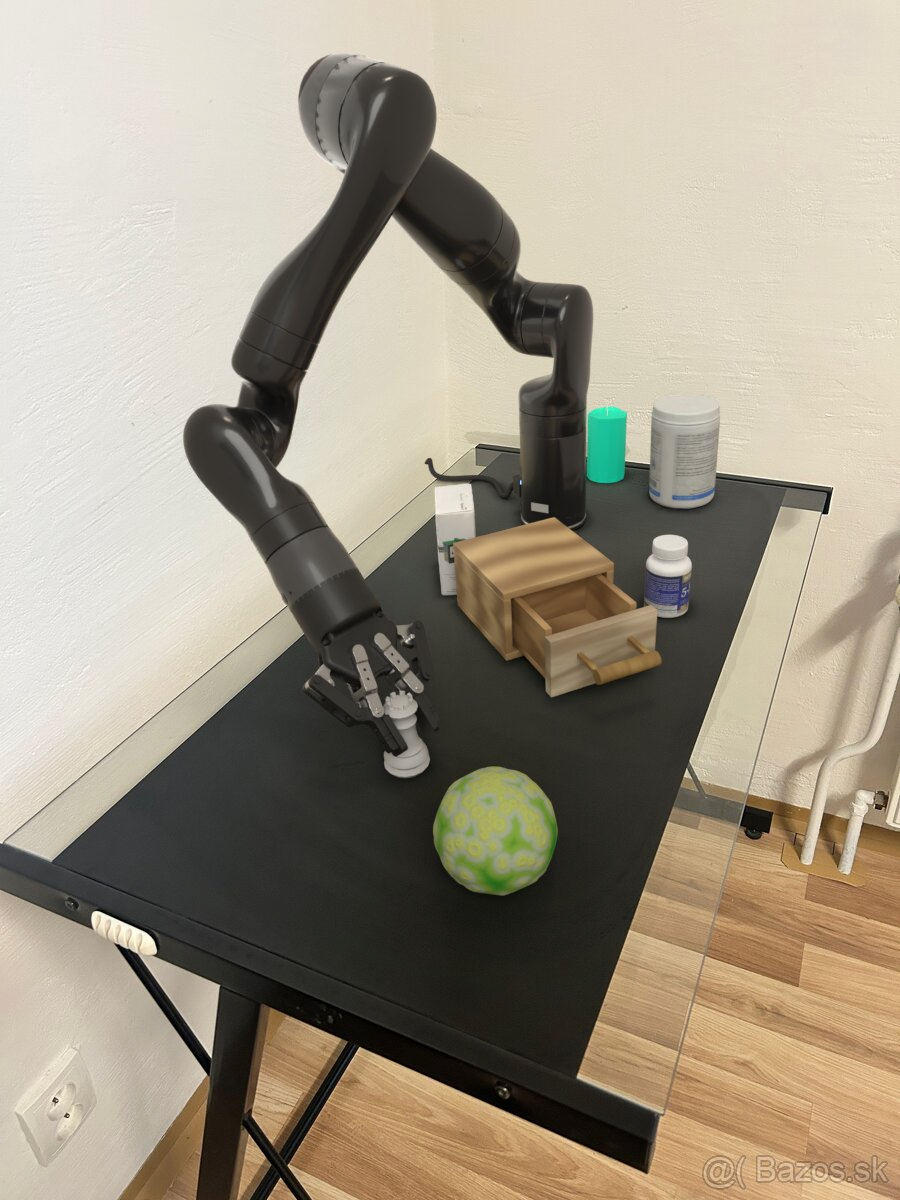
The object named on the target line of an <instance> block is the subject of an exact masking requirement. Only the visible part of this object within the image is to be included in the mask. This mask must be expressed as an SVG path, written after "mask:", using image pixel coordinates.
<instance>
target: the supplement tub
mask: <svg viewBox="0 0 900 1200" xmlns="http://www.w3.org/2000/svg"><path fill="white" fill-rule="evenodd" d="M720 407H721V404H720V402H719V400H718V399H717V398H715V397H712V396H710V395H706V394H700V393H674V394H668V395H664V396H661V397H659V398H657V399H655V400H654V402H653V403H652V410H651V422H650V423H651V424H650V454H649V455H650V456H649V484H648V485H649V491H648V493H649V494H648V495H649V497H650V498H651V500H652V501H653V502H654V503H656V504H658V505H660V506H662V507H666V508H669V509H683V510H687V509H689V510H690V509H695V508H700V507H703V506H704V505H707V504H708V503H710V502H711V501H712V500H713V499H714V496H715V493H716V478H717V467H718V465H717V464H718V454H719V453H718V452H719V439H720V426H721V425H720V424H721V412H720V409H721V408H720Z"/></svg>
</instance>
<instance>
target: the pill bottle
mask: <svg viewBox="0 0 900 1200" xmlns="http://www.w3.org/2000/svg"><path fill="white" fill-rule="evenodd" d="M651 550H652V552H651V555H649V556H648V558H647V559H646V562H645V577H644V579H645V581H644V595H643V598H644V599H643V607H645V606H649V605H652V606H653V607H654V608H656V609H657V618H663V619H672V618H678V617H681V616H683V615H684V614H685V613H687V612H688V610H689V605H690V592H691V581H692V580H691V579H692V571H693V563H692V561H691V559H690V557H689V556H688V552H689V542H688V540H687V539H686V538H685V537H683V536H680V535H677V534H663V535H658V536H657V537H655V538H653V540H652V546H651Z"/></svg>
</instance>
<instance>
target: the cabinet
mask: <svg viewBox="0 0 900 1200" xmlns="http://www.w3.org/2000/svg"><path fill="white" fill-rule="evenodd" d="M453 548H454V561H455V575H456V588H457V595H456V599H457V600H456V601H457V606H458V607H459V609H460V610H461V611H462V612H463V613H464V615H466V617H467V618H468V619H469V620H470V621H471V622H472V624H474V626H475V627H476V628H477V629H478V631H480V633H481V634H482V635H483V636H484V637H485V639H487V641H488V642H489V643H490V644H491V646H493V647H494V649H495V650H496V651H497V652H498V653H499V654H500V656H502V658H503V659H504V660H505V661H506V662H508V661H511V660H513V659H517V658H520V657H521V658H522V657H525V656H524V655H523V654H522V653H521V652H520V651H519V649H518V648H517V647H516V646H515V645H514V644H513V642H512V615H511V599H512V598H516V597H519V596H523V595H526V594H530V593H533V592H537V591H541V590H544V589H548V588H551V587H555V586H558V585H562V584H565V583H569V582H572V581H576V580H579V579H583V578H587V577H590V576H594V575H597V574H602V575H603V576H604V577H605V578H607V579H608V580H609V581H610V582H612V583H613V584H614V576H615V575H614V574H615V563H614V562H613V561H612V560H610V559H609V558H608V557H607V556H605V555H604V554H603V553H602V552H601V551H599V550H597V548H595V547H594V546H593V545H591V544H590V543H589V542H587V541H586V540H585V539H583V538H582V537H581V536H579V535H578V534H577V533H576V532H575V531H574V530H570V529H569V528H568V527H566V526H565V525H564V524H563V523H561V522H560V521H559V520H557V519H556V518H555V517H553V518H549V519H545V520H541V521H538V522H534V523H530V524H526V525H523V524H522V525H517V526H515V527H510V528H506V529H503V530H499V531H494V532H491V533H487V534H482V535H479V536H476V537H475V538H471V539H467V540H463V541H459V542H455V543H453Z"/></svg>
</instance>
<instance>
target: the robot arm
mask: <svg viewBox="0 0 900 1200" xmlns="http://www.w3.org/2000/svg"><path fill="white" fill-rule="evenodd" d="M297 109H298V111H297V112H298V117H299V122H300V125H301V129H302V131H303V134H304V136H305V138H306V140H307V142H308V144H309V145H310V147H311V149H312V150H313V151H314V153H315V154H316V155H317V156H318V157H319V158H320V159H322V160H323V161H324V162H325V163H327V164H328V165H329V166H331V167H333V168H334V169H335V170H336V171H338V172H339V173H340V174H341V175H343V177H342V179H341V183H340V185H339V186H338V189H337V191H336V193H335V196H334V198H333V199H332V201H331V203H330V204H329V206H328V208H327V209H326V210H325V212H324V214H323V215H322V216H321V217H320V219H319V220H318V221H317V222H316V224H315V225H314V226H313V227H312V229H311V230H309V232H308V233H307V234H306V235H305V236H304V237H303V238H302V239H301V240H300V241H299V242H298V243H297V244H296V245H295V246H293V248H292V249H290V250H289V252H288V253H287V254H286V255H285V256H283V258H282V259H280V261H279V262H278V263H277V264H276V265H275V266H274V267H273V268H271V270H270V272H269V273H268V274H267V276H266V277H265V278H264V279H263V281H262V283H261V284H260V286H259V288H258V289H257V291H256V294H255V295H254V297H253V298H252V301H251V304H250V306H249V310H248V311H247V314H246V316H245V318H244V321H243V323H242V326H241V328H240V330H239V333H238V335H237V336H238V337H237V338H236V340H235V343H234V346H233V348H232V352H231V354H230V367H231V369H232V371H233V372H234V374H235V375H236V376H237V377H238V378H239V379H241V384H240V388H239V393H238V397H237V400H236V401H237V402H236V405H232V404H226V403H220V402H219V403H218V402H217V403H207V404H205V405H202V406H200V407H198V408H197V409H195V410H194V411H192V412H191V414H190V415H189V416H188V418H187V419H186V422H185V424H184V427H183V432H182V444H183V449H184V453H185V456H186V459H187V461H188V463H189V466H190V468H191V469H192V471H193V472H194V474H195V476H196V477H197V479H198V480H199V481H200V482H201V483H202V484H203V486H204V487H205V488H206V489H207V490H208V491H209V493H210V494H211V495H212V496H213V497H214V498H215V499H216V501H217V502H218V503H219V504H220V505H221V506H222V507H223V508H224V509H225V510H226V512H228V513H229V514H230V515H231V516H232V517H233V518H234V519H235V520H236V521H237V522H238V523H239V524H240V525H241V527H243V529H244V530H245V532H246V534H247V536H248V538H249V539H250V541H251V543H252V545H253V546H254V548H255V550H256V552H257V554H259V557H260V558H261V560H262V561H263V563H264V565H265V567H266V569H267V570H268V572H269V574H270V577H271V580H272V582H273V584H274V586H275V587H276V590H277V591H278V593H279V595H280V596H281V600H282V602H283V603H284V604H285V605H286V606H287V608H288V609H289V611H290V613H291V615H292V616H293V618H294V619H295V622H296V623H297V624H298V626H299V628H300V629H301V631H302V633H303V635H304V636H305V637H306V640H307V641H308V642H309V644H310V646H311V647H312V648H313V649H314V651H315V652H316V654H317V661H318V662H317V663H318V666H319V668H318V669H317V671H316V672H315V673H314V674H313V675H312V676H311V677H310V678H309V679H308V680H307V681H306V682H305V683H304V684H303V685H302V691H303V693H304V694H305V695H306V696H307V697H309V698H310V699H312V701H314V702H315V703H316V704H318V705H319V706H320V707H321V708H323V709H324V710H325V711H327V713H329V714H330V715H332V716H333V717H334V718H335V719H337V720H338V721H339V722H340V723H342V724H343V725H344V726H345V727H348V728H353V727H354V726H360V725H361V726H362V725H366V726H368V727H369V729H370V730H371V731H372V733H373V735H374V736H375V738H376V740H377V741H378V743H379V745H380V746H381V748H382V750H383V751H384V752H385V751H386V752H387V753H388V754H389V753H392V754H393V755H394V756H395V757H397V756H398V755H400V754H402V753H403V752H405V751H407V750H408V746H407V744H406V742H405V741H404V739H403V737H402V736H401V734H400V732H399V731H398V729H397V728H396V726H395V724H394V723H393V721H392V719H391V718H390V716H389V714H387V715H386V714H385V713H384V709H383V706H384V705H383V704H382V701H381V698H380V695H379V693H378V690H379V687H378V684H377V681H376V679H377V678H382V679H383V680H384V681H385V683H386V684H387V685H390V686H392V687H393V688H394V689H395V690H396V691H397V692H398V693H399V694H400V691H405V695H407V694H408V693H410V694H411V695H412V698H413V699H414V700H415V701H416V702H417V705H418V707H417V710H416V712H415V713H414V714H415V715H416V718H417V720H416V724H417V725H418V727H419V728H420V731H421V732H422V733H423V734H424V736H425V737H429V736H431V735H433V734H435V733H436V732H438V731H439V730H440V729H441V728H440V725H439V723H440V721H441V720H440V717H439V714H438V712H437V711H436V709H435V708H434V706H433V704H432V702H431V701H430V699H429V698H428V696H427V695H426V692H425V688H426V686H427V684H428V683H429V682H430V681H431V680H432V679H433V678H434V677H435V670H434V666H433V662H432V657H431V651H430V647H429V643H428V639H427V634H426V629H425V626H424V623H423V622H422V621H421V620H417V619H416V620H414V621H413V622H412V623H410V624H397V625H396V623H395V622H394V621H393V620H391V619H390V618H389V617H387V615H385V614H384V612H383V610H382V607H381V604H380V602H379V600H378V599H377V597H376V595H375V594H374V592H373V590H372V588H371V587H370V586H369V584H368V582H367V581H366V579H365V578H364V575H362V573H361V571H360V570H359V568H358V566H357V565H356V563H355V562H354V560H353V558H352V557H351V555H350V553H349V552H348V550H347V548H346V547H345V546H344V544H343V542H341V541H340V539H339V538H338V537H337V536H336V534H335V533H334V532H333V530H332V529H331V528H330V525H329V524H328V523H327V521H326V519H325V518H324V516H323V514H322V513H321V511H320V509H319V508H318V506H317V505H316V503H315V501H314V500H313V498H312V497H311V495H310V494H309V493H308V491H307V490H306V489H305V488H304V487H303V486H302V485H300V484H299V483H297V482H295V481H293V480H291V479H288V478H287V477H286V476H284V475H283V474H282V473H281V472H280V471H279V470H278V467H279V466H280V464H281V463H282V461H283V459H284V457H285V456H286V453H287V451H288V449H289V445H290V443H291V439H292V435H293V431H294V425H295V421H296V415H297V411H298V407H299V399H300V391H301V387H302V383H303V381H304V379H305V378H306V375H307V374H308V370H309V369H310V367H311V364H312V362H313V359H314V358H315V355H316V353H317V351H318V348H319V345H320V343H321V341H322V340H323V336H324V334H325V331H326V330H327V326H328V325H329V323H330V321H331V319H332V317H333V315H334V313H335V310H336V308H337V307H338V304H339V302H340V301H341V298H342V297H343V295H344V293H345V291H346V290H347V288H348V286H349V285H350V283H351V282H352V279H353V278H354V276H355V275H356V273H357V271H359V268H360V267H361V266H362V264H363V262H364V260H365V259H366V257H367V256H368V254H369V253H370V251H371V250H372V248H373V247H374V245H375V243H376V242H377V240H378V239H379V237H380V236H381V234H382V232H383V231H384V229H385V228H386V226H387V225H388V223H389V221H390V219H391V218H392V219H393V221H394V222H395V223H396V224H397V225H398V226H399V227H400V228H401V230H402V231H404V232H405V234H407V235H408V237H409V238H410V239H411V240H412V241H413V242H414V243H415V244H416V245H417V246H418V247H419V248H420V249H421V250H422V251H423V252H424V253H425V254H426V256H427V257H428V258H429V259H430V260H431V261H432V263H434V265H436V267H437V268H439V270H440V271H442V272H443V273H444V274H445V275H446V276H447V278H449V279H450V280H451V281H452V282H454V283H455V284H456V285H457V286H458V287H459V288H460V289H461V290H462V291H463V292H464V293H465V294H466V295H467V296H468V298H470V299H471V300H472V301H473V303H474V304H476V305H477V307H478V308H479V309H481V311H482V312H483V313H484V314H485V315H486V317H487V318H488V319H489V321H490V322H491V324H492V325H493V326H494V328H495V330H496V331H497V332H498V333H499V335H500V336H501V338H502V339H503V341H505V343H506V344H507V345H508V346H509V347H510V348H511V349H512V350H513V351H515V352H517V353H520V354H522V355H526V356H532V357H540V358H549V359H550V358H551V359H553V363H552V364H553V365H552V372H551V373H548V374H546V375H542V376H538V377H535V378H532V379H530V380H528V381H525V382H524V383H523V384H522V385H521V386H520V387H519V390H518V425H519V427H518V428H519V456H518V458H519V459H518V460H519V461H518V462H519V474H514V475H512V482H511V483H510V484H509V486H508V487H507V489H506V491H505V492H504V491H503V488H502V486H501V484H500V483H499V481H498V480H497V479H496V478H494V477H492V476H489V475H484V474H483V475H482V474H466V475H465V474H464V475H446V474H445V475H444V474H441V473H438V472H437V471H436V470H435V467H434V463H433V458H431V457H428V458H426V459H425V461H424V465H427V468H428V470H429V473H430V475H431V476H432V477H433V478H435V479H437V480H440V481H445V482H465V481H483V482H488V483H490V484H492V485H493V486H494V488H495V490H496V493H497V495H498V496H499V497H500V498H501V499H508V498H509V497H510V496H511V495H512V493H513V494H515V495H516V496H517V497H518V498H520V521H521V524H522V525H526V524H530V523H534V522H538V521H541V520H545V519H549V518H553V517H555V518H556V519H557V520H559V521H560V522H561V523H563V524H564V525H565V526H566V527H568V528H569V529H570V530H572V531H575V530H577V529H579V528H581V527H582V526H584V524H585V523H586V521H587V512H586V501H587V499H586V496H587V418H588V413H587V410H588V409H587V407H588V391H589V386H590V381H591V380H590V379H591V367H592V365H591V363H592V347H593V346H592V345H593V334H594V333H593V332H594V305H593V299H592V295H591V294H590V292H589V290H588V289H587V288H586V287H585V286H583V285H581V284H574V283H559V282H542V281H541V282H540V281H534V280H529V279H527V278H526V277H524V276H523V275H521V273H520V272H518V270H517V269H518V268H519V263H520V259H521V252H522V251H521V250H522V249H521V247H522V244H521V238H520V237H521V236H520V233H519V231H518V228H517V226H516V224H515V222H514V221H513V219H512V218H511V216H510V214H508V213H507V211H506V210H505V208H504V207H503V206H502V205H501V203H500V202H499V201H498V199H497V198H496V197H495V196H494V195H493V194H492V192H490V191H489V190H488V189H487V188H486V187H485V186H484V185H483V184H482V183H481V182H480V181H478V180H477V179H476V178H474V177H473V176H472V175H471V174H469V173H468V172H466V171H465V170H464V169H462V168H460V167H459V166H458V165H457V164H455V163H454V162H452V161H451V160H449V159H448V158H447V157H444V156H443V155H442V154H440V153H438V152H437V151H436V150H434V149H432V145H433V143H434V139H435V135H436V129H437V122H438V114H437V113H438V111H437V103H436V100H435V96H434V93H433V91H432V88H431V87H430V85H429V84H428V82H427V81H426V80H425V78H423V77H422V76H421V75H420V74H418V73H416V72H415V71H413V70H411V69H408V68H405V67H402V66H399V65H396V64H394V63H389V62H386V61H383V60H379V59H376V58H374V57H373V58H372V57H369V56H367V55H366V56H365V55H362V54H357V53H354V52H337V53H331V54H327V55H324V56H322V57H320V58H318V59H316V61H314V62H313V64H311V65H310V66H309V67H308V69H307V70H306V72H305V73H304V75H303V77H302V79H301V82H300V85H299V89H298V95H297ZM398 641H399V642H400V646H401V647H402V648H405V651H406V655H407V661H408V662H407V661H406V660H405V658H403V655H401V654H400V653H399V652H398ZM332 677H334V678H336V679H337V680H340V681H342V682H344V683H345V684H346V685H347V688H348V691H349V694H350V696H351V698H352V699H350V698H349V697H348V696H347V695H346V694H344V693H343V692H342V691H341V690H339V689H338V688H337V687H335V680H334V679H332Z"/></svg>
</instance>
